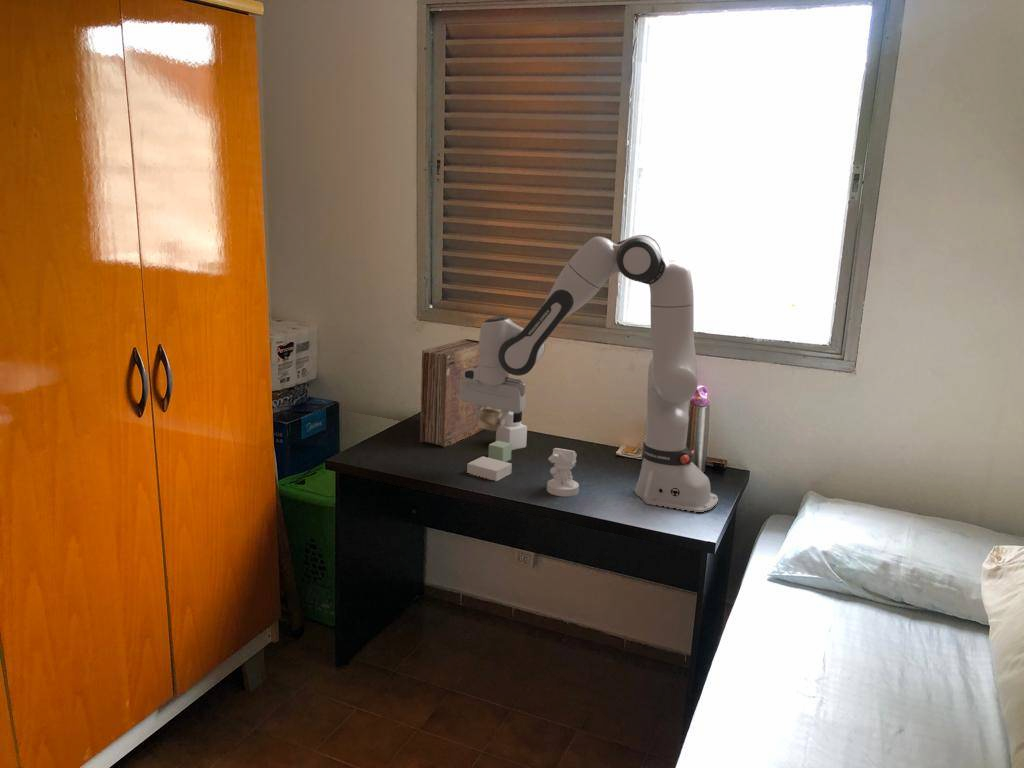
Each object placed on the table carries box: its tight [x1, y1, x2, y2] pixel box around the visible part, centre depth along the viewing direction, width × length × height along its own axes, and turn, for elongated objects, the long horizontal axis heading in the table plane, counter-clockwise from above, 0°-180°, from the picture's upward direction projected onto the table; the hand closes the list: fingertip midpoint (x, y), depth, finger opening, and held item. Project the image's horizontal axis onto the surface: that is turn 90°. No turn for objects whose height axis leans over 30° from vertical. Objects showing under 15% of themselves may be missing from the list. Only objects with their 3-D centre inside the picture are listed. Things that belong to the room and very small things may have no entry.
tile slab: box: [466, 456, 513, 482], centre depth 234 cm, size 10×8×3 cm
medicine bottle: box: [495, 411, 528, 451], centre depth 257 cm, size 7×7×12 cm
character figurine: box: [546, 447, 580, 497], centre depth 223 cm, size 9×10×12 cm
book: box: [419, 338, 488, 449], centre depth 263 cm, size 25×9×30 cm, turn 150°
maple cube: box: [479, 407, 503, 432], centre depth 230 cm, size 5×5×5 cm
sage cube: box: [487, 440, 513, 462], centre depth 245 cm, size 5×5×5 cm
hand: (491, 421), depth 230 cm, fingers closed on maple cube, 5 cm apart
